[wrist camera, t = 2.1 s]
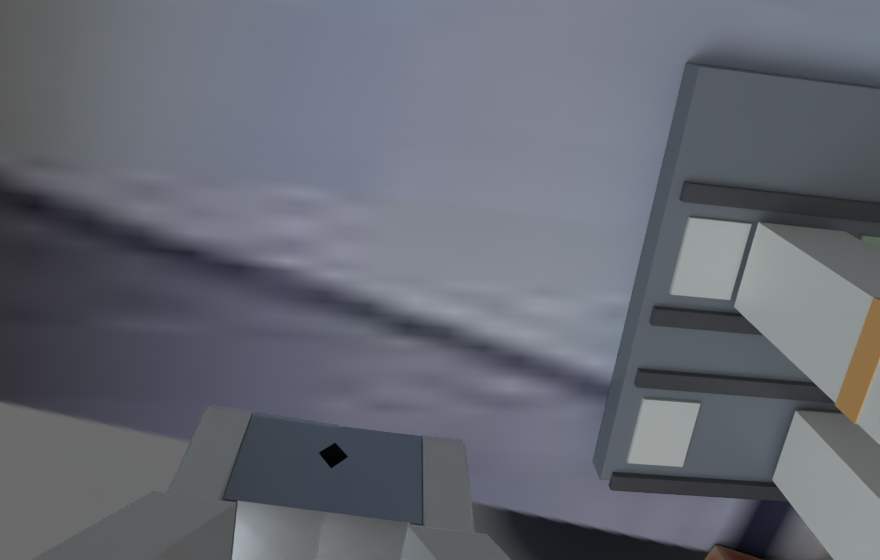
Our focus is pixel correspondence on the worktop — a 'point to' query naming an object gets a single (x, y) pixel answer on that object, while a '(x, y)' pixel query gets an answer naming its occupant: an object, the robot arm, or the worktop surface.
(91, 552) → the robot arm
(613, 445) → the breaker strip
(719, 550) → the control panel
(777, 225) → the breaker toggle
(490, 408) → the worktop surface
